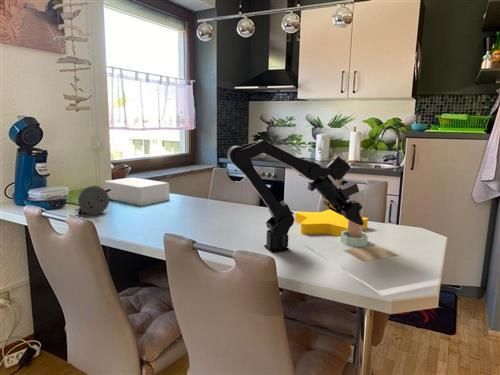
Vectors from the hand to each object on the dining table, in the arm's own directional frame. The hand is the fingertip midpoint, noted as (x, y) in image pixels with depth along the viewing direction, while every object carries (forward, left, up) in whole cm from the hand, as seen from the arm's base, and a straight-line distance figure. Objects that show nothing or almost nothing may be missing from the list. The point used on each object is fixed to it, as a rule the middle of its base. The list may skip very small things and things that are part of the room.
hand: (356, 221), depth 126 cm
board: (-2, -11, -9) cm, 14 cm away
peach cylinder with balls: (0, 0, -8) cm, 8 cm away
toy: (-86, +77, -9) cm, 116 cm away
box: (-66, +101, -9) cm, 121 cm away
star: (+4, +20, -9) cm, 22 cm away
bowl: (0, 0, -9) cm, 9 cm away
